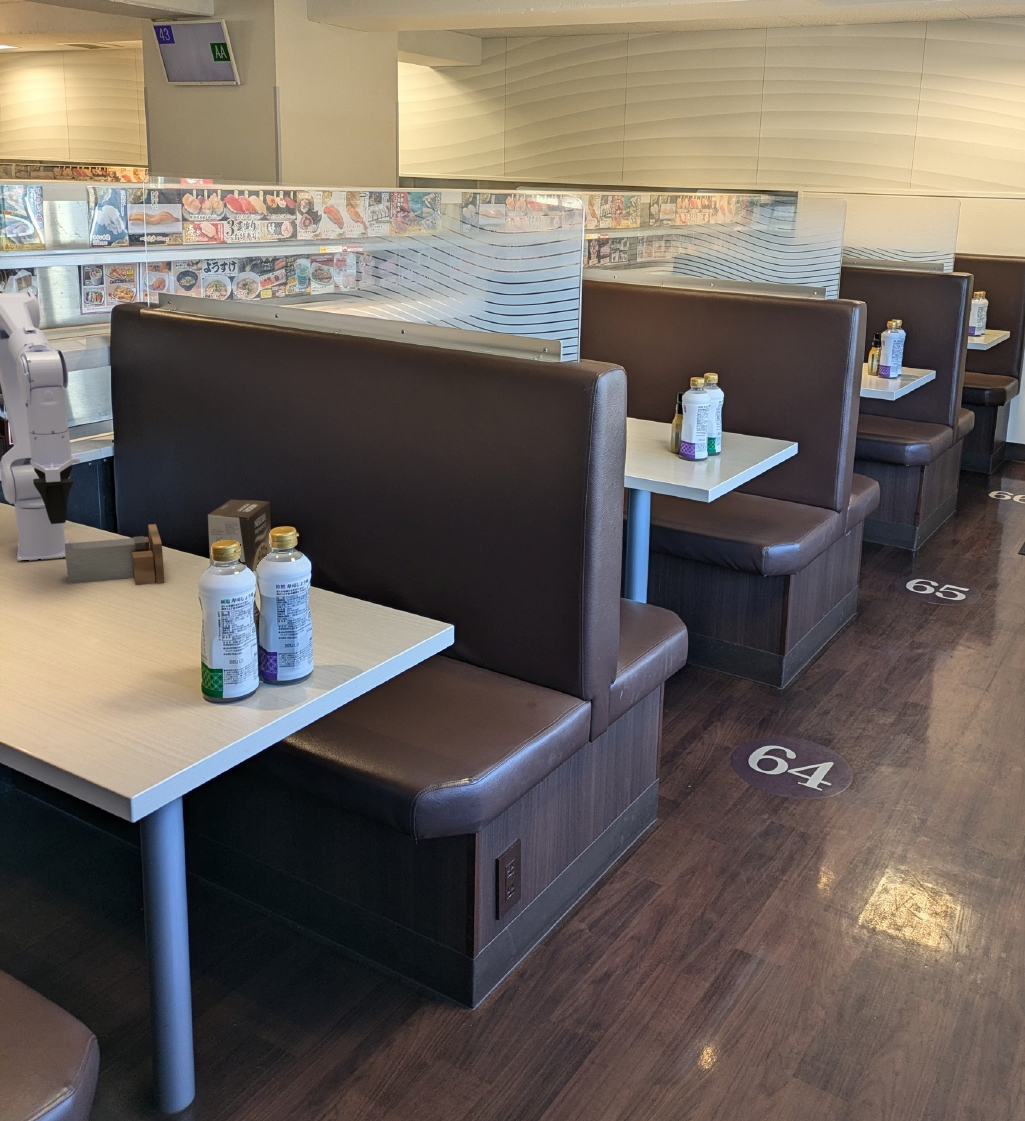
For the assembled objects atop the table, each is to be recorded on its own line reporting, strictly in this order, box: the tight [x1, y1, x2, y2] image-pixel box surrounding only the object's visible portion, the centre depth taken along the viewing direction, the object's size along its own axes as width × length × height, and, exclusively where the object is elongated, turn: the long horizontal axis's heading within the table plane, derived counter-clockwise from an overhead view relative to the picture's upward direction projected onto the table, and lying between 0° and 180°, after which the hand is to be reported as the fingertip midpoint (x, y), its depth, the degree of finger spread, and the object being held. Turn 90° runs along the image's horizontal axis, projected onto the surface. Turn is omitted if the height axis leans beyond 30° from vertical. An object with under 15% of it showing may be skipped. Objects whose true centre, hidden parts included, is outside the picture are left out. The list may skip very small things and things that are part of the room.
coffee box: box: [207, 499, 272, 571], centre depth 166 cm, size 9×6×16 cm
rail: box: [65, 535, 146, 584], centre depth 179 cm, size 4×12×6 cm, turn 112°
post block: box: [132, 523, 166, 585], centre depth 182 cm, size 11×4×6 cm, turn 22°
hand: (58, 516), depth 175 cm, fingers open, 7 cm apart
